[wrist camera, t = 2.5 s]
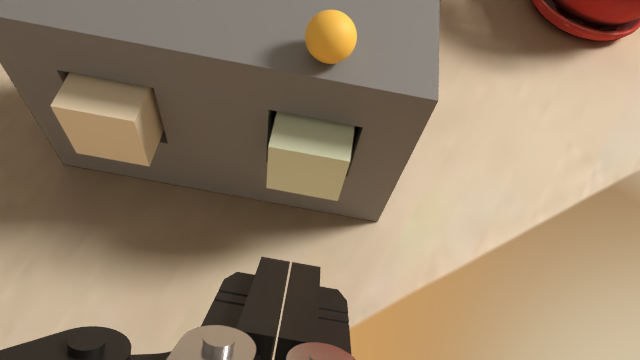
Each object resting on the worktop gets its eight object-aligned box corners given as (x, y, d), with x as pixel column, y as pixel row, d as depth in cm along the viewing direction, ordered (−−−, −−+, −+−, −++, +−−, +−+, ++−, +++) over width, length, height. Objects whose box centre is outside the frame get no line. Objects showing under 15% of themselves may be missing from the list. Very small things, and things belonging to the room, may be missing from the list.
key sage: (337, 201, 28) (350, 161, 24) (266, 187, 28) (268, 146, 24) (345, 145, 30) (358, 101, 27) (279, 133, 30) (282, 87, 26)
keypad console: (377, 221, 34) (456, 64, 21) (63, 164, 33) (-61, -36, 20) (385, 131, 38) (455, -48, 25) (106, 79, 37) (27, -133, 24)
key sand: (149, 166, 28) (134, 121, 24) (76, 153, 28) (50, 105, 24) (170, 112, 30) (159, 64, 26) (102, 100, 30) (82, 49, 26)
